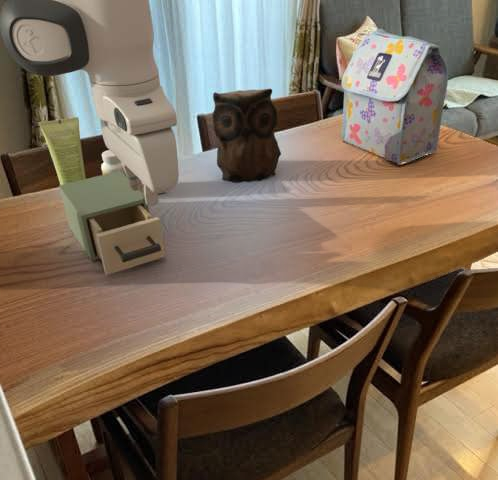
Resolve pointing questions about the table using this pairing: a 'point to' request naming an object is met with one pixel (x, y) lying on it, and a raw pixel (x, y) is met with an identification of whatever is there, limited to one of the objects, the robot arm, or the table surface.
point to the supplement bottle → (111, 163)
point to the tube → (65, 148)
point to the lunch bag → (394, 96)
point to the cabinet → (96, 203)
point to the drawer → (126, 238)
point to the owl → (246, 135)
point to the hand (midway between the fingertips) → (143, 195)
